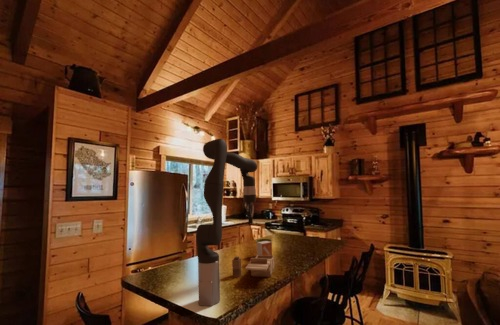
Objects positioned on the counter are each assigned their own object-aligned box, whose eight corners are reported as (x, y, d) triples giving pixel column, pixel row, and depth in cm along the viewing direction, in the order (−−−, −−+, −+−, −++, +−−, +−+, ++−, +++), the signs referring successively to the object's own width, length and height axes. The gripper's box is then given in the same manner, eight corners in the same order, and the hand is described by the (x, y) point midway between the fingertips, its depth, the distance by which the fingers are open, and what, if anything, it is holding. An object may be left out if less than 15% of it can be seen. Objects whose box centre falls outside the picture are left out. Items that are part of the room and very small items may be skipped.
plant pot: (253, 255, 189) (252, 239, 190) (267, 253, 194) (266, 238, 195) (260, 259, 178) (260, 242, 179) (275, 256, 183) (274, 240, 184)
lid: (266, 270, 131) (266, 263, 131) (245, 269, 134) (245, 262, 134) (271, 260, 149) (271, 254, 149) (252, 260, 151) (252, 254, 151)
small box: (262, 264, 166) (261, 243, 167) (257, 262, 171) (256, 242, 173) (272, 262, 171) (271, 241, 172) (266, 260, 176) (266, 240, 177)
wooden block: (239, 277, 144) (239, 258, 145) (232, 276, 145) (232, 258, 146) (241, 274, 148) (240, 256, 149) (234, 274, 149) (234, 256, 150)
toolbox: (270, 277, 142) (270, 264, 143) (251, 276, 144) (250, 263, 145) (274, 267, 159) (274, 255, 160) (257, 266, 162) (256, 255, 163)
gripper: (246, 193, 162) (247, 222, 160) (240, 194, 149) (241, 225, 148) (257, 193, 160) (259, 222, 159) (253, 194, 148) (254, 225, 146)
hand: (250, 223), depth 153 cm, fingers closed
